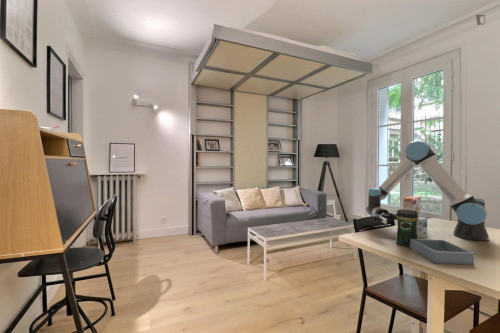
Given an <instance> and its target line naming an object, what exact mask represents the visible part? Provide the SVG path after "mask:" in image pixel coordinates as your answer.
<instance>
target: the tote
mask: <svg viewBox="0 0 500 333" xmlns="http://www.w3.org/2000/svg"><path fill="white" fill-rule="evenodd" d="M410 250H412V251H413V252H415V253H417V254H418V255H420V256H421V257H423V258H426V259H427V260H428V261H430V262H432V263H433V264H436V265H437V264H438V265H439V264H440V265H442V264H443V265H463V266H464V265H469V266H474V264H475V253H474V252H472V251H471V250H467V249H465V248H464V247H461V246H458V245H456V244H454V243H451V242H449V241H447V240H444V239H429V238H427V239H423V238H422V239H421V238H418V239H411V242H410Z"/></svg>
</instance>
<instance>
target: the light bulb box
mask: <svg viewBox="0 0 500 333" xmlns="http://www.w3.org/2000/svg"><path fill="white" fill-rule="evenodd" d="M417 236H418V237H419V238H425V237H427V236H428V218H427V217H422V216H420V217H418V221H417Z"/></svg>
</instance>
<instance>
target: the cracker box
mask: <svg viewBox="0 0 500 333" xmlns="http://www.w3.org/2000/svg"><path fill="white" fill-rule="evenodd" d="M421 199H422V198H421V197H420V196H414V195H413V196H405V197H403V199H402V209H404V210H412V211H417V213H418V217H421Z"/></svg>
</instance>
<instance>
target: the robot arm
mask: <svg viewBox="0 0 500 333" xmlns="http://www.w3.org/2000/svg"><path fill="white" fill-rule="evenodd" d="M404 152H405V157H404V158H405V159H403V161H402V162H401V163H400V164H399V165H398V167H396V169H395V170H393V172H392V173H391V174H390V175H389V176H388V177H387V178H386V179H385V180H384V182H383V183H382V184H380V186H379V187H378V188H376V187H369V188H368V193H367V194H368V197H367V198H368V203H367V206H366V208H365V211H366V213H367V214H368V215H370V216H371V217H373V221H376V222H377V223H380V222H381V223H383V224H385V225H387V224H388V220H389V221H390V220H392V221H397V218H396V215H397V213H391V212H389V210H387V209H385V208H383V207H381V206H382V204H381V201H384V200H385V199H386V198H388V195H389V194H390V193H391V192H392V191H393V190H394V189H395V188H396V187H397V186H398V185H399V184H400V183H401V181H403V180H404V179H405V178H406V177H407V176H408V175H409V174H410V173H411V171H413V170H414V169H415V167H420V168H422V170H423V171H424V172H425V173H426V175H427V176H428V177H429V178H430V179H431V181H432V182H433V183H434V184H435V186H437V188H438V189H439V190H440V192H441V193H442V194H443V195H444V196H445V197H446V198H447V199H448V201H449V207H450V209H452V210H453V212H454V213H455V214H456V217H457V222H456V225H455V227H454V230H453V236H456V237H458V238H461V239H466V240H471V241H477V242H478V241H479V242H480V241H481V242H484V241H485V240H487V241H489V237H490V236H489V234H488V232H487V228H486V226H485V225H486V224H485V220H486V219H487V214H488V213H487V210H486V201H485V199H483V198H476V197H474V195H472V194H469V193H467V192H466V191H465V190H464V189H463V188H462V187H461V185H459V183H458V182H457V181H456V180H455V179H454V178H453V177H452V176H451V174H450V173H449V172H448V171H447V170H446V169H445V167H444V166H443V165H442V163H440V162H439V161H438V160H437V154H436V153H435V152H434V151H433V149H432V147H431V146H430V144H428V143H426V142H425V141H423V140H415V141H410V142H409V143H408V144H407V145H406V147H405V150H404Z"/></svg>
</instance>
